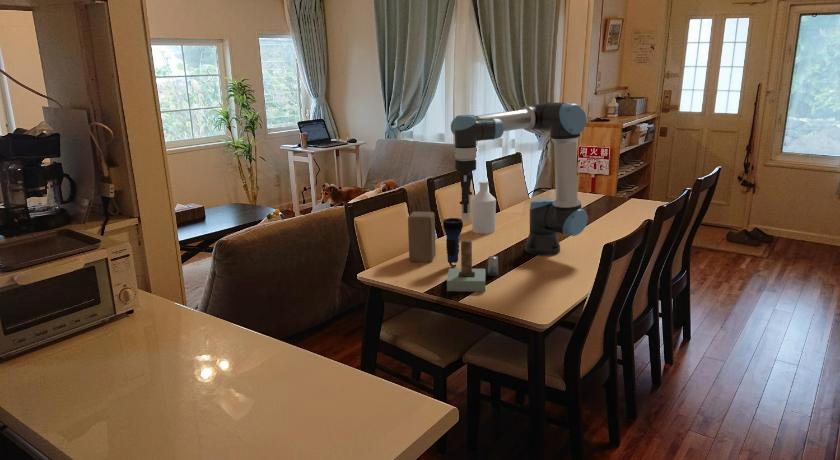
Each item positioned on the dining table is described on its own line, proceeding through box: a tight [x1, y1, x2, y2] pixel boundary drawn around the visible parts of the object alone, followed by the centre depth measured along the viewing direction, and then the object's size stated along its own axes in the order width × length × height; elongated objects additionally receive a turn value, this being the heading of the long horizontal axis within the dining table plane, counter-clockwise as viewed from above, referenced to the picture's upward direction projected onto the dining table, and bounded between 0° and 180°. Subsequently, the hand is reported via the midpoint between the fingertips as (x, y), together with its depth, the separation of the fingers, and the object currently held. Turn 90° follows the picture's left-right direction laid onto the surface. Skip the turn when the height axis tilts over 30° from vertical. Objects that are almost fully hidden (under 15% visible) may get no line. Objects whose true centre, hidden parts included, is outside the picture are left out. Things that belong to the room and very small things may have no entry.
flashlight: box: [442, 217, 464, 268], centre depth 241 cm, size 8×8×20 cm
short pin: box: [487, 255, 499, 277], centre depth 233 cm, size 4×4×7 cm
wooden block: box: [407, 211, 437, 263], centre depth 253 cm, size 10×10×20 cm
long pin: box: [460, 239, 473, 277], centre depth 222 cm, size 4×4×17 cm
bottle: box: [471, 180, 497, 235], centre depth 294 cm, size 12×12×25 cm
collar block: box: [446, 267, 486, 293], centre depth 223 cm, size 14×14×4 cm
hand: (466, 217), depth 217 cm, fingers open, 13 cm apart
